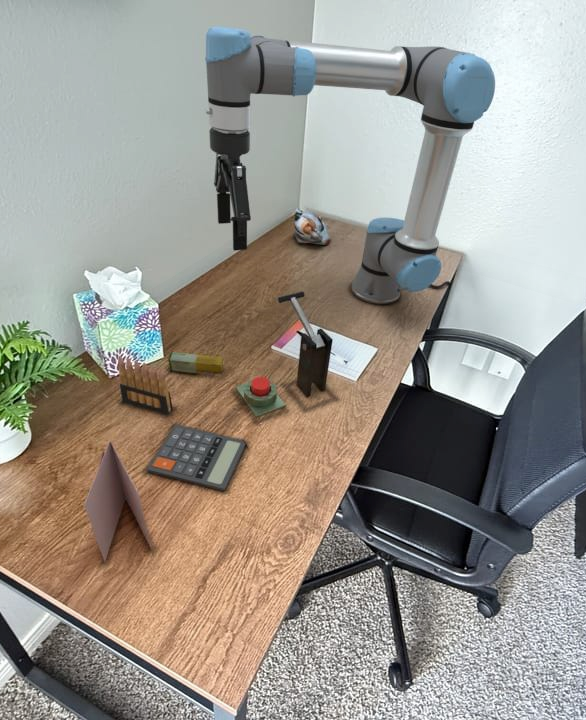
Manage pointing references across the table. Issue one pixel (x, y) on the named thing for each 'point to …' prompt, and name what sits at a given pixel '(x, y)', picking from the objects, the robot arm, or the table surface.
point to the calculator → (198, 457)
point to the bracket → (313, 363)
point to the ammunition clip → (144, 387)
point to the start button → (260, 386)
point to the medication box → (194, 363)
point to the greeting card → (112, 499)
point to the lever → (303, 318)
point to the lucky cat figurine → (310, 228)
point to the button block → (261, 399)
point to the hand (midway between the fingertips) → (231, 235)
